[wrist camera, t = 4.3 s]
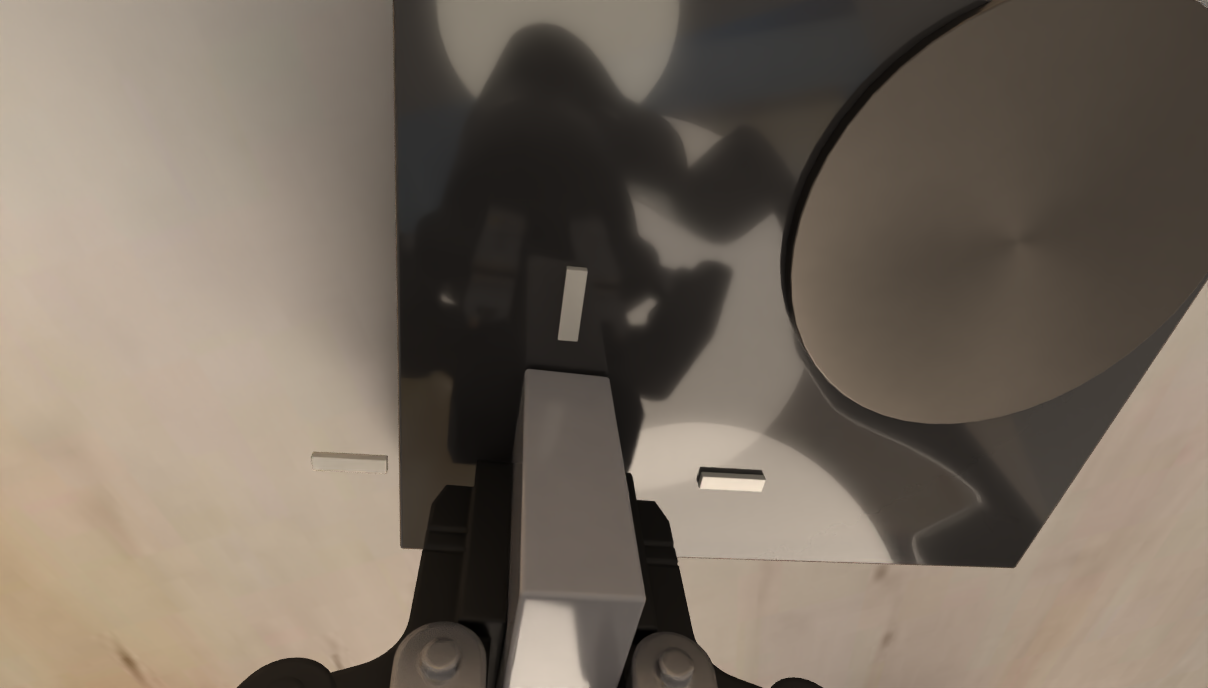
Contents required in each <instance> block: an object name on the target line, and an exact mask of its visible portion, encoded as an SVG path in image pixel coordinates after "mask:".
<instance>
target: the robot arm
mask: <svg viewBox="0 0 1208 688" xmlns="http://www.w3.org/2000/svg"><path fill="white" fill-rule="evenodd" d="M625 475H626V481H627V487H628V493H629V499H630V505H631V511H632V517H633V523H634V529H635V535H636V541H637V547H638V553H639V559H640V565H641V571H642V577H643V583H644V589H645V595H646V601H645V605H644V608H643V611H642V614H641V617H640V620H639V623H638V626H637V629H636V632H635V635H634V638H633V641H632V644H631V647H630V650H629V653H628V656H627V659H626V662H625V665H624V669H623V672H622V675H621V678H620V681H619V684H618V687H617V688H762V687H759V686H757V685H754V684H751V683H748V682H746V681H743V680H740V679H738V678H735V677H733V676H730V675H728V674H727V673H725V672H723V671H721V670H720V669H719V668H717V667H716V666H715V665H714V664H712V662H711V660H710V658H709V657H708V655H707V653H706V652H705V651H704V650H703V649H702V648H701V647H700V646H699V645H698V644H697V642H696V640H695V637H694V634H693V630H692V625H691V621H690V616H689V611H688V607H687V602H686V597H685V593H684V588H683V583H682V579H681V574H680V569H679V566H678V565H677V563H678V560H677V555H676V551H675V548H674V541H673V537H672V532H671V527H670V523H669V520H668V519H667V518H666V516H665V515H664V513H663V512H662V510H661V509H660V508H659V506H658V505H657V503H656V502H655V501H647V500H637V499H636V493H635V487H634V481H633V476H632V474H631V473H625ZM512 489H513V463H508V462H497V461H485V460H477V465H476V473H475V482H474V487H470V486H457V485H446V486H445V487H444V488H443V490H442V491H441V492H440V493H439V495H438V496H437V497H436V499H435V500H434V501H433V502H432V504H431V509H430V514H429V519H428V524H427V531H426V535H425V540H424V546H423V551H422V556H421V561H420V566H419V571H418V577H417V582H416V587H415V592H414V598H413V603H412V608H411V613H410V618H409V622H408V626H407V628H406V630H405V632H404V634H403V635H402V637H401V638H400V640H399V641H398V642H397V643H396V644H395V645H394V646H393V647H392V648H391V649H390V650H389V651H387V652H386V653H385V654H383V655H381V656H380V657H378V658H376V659H374V660H372V661H370V662H367V663H364V664H361V665H358V666H354V667H350V668H346V669H343V670H339V671H335V672H332V673H330V671H329V670H328V669H327V668H326V667H324V666H323V665H322V664H320V663H318V662H316V661H314V660H310V659H307V658H287V659H281V660H278V661H275V662H272V663H270V664H268V665H265V666H263V667H262V668H260V669H258V670H257V671H255V672H254V673H253V674H251V675H250V676H249V677H248V678H247V679H246V680H244V681H243V682H242V683H241V684H240V685H239V686H238V687H237V688H495V683H496V677H497V671H498V665H499V659H500V653H501V647H502V641H503V636H504V630H505V624H506V608H507V588H508V569H509V549H510V530H511V510H512ZM771 688H823V687H821V686H819V685H818V684H816V683H814V682H811V681H809V680H806V679H802V678H795V677H793V678H785V679H781V680H780V681H778V682H776V683H775V684H774V685H773V686H772V687H771Z"/></svg>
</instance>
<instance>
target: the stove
mask: <svg viewBox="0 0 1208 688" xmlns="http://www.w3.org/2000/svg"><path fill="white" fill-rule="evenodd" d="M990 1H992V0H393V65H394V137H395V209H396V281H397V353H398V425H399V497H400V546H401V548H403V549H423V546H424V540H425V535H426V531H427V524H428V519H429V514H430V509H431V504H432V502H433V501H434V500H435V499H436V497H437V496H438V495H439V493H440V492H441V491H442V490H443V488H444V487H445V486H446V485H457V486H470V487H474V482H475V473H476V465H477V460H485V461H497V462H508V463H511V460H512V454H513V447H514V440H515V434H516V427H517V420H518V414H519V407H520V400H521V394H522V387H523V380H524V374H525V371H526V370H527V369H538V370H548V371H557V372H566V373H576V374H585V375H595V376H604V377H608V378H609V380H610V385H611V391H612V397H613V403H614V409H615V415H616V421H617V427H618V433H619V439H620V445H621V451H622V457H623V463H624V469H625V473H631V474H632V476H633V481H634V487H635V493H636V499H637V500H647V501H655V502H656V503H657V505H658V506H659V508H660V509H661V510H662V512H663V513H664V515H665V516H666V518H667V519H668V520H669V523H670V527H671V532H672V537H673V541H674V548H675V551H676V555H677V557H682V558H713V559H745V560H776V561H807V562H838V563H870V564H901V565H932V566H964V567H995V568H1015V567H1016V566H1017V564H1018V563H1019V561H1020V560H1021V558H1022V557H1023V555H1024V554H1025V552H1026V551H1027V549H1028V548H1029V546H1030V545H1031V543H1032V542H1033V540H1034V539H1035V537H1036V536H1037V534H1038V533H1039V531H1040V530H1041V528H1042V527H1043V525H1044V524H1045V522H1046V521H1047V519H1048V518H1049V516H1050V515H1051V513H1052V512H1053V510H1054V509H1055V507H1056V506H1057V504H1058V503H1059V501H1060V500H1061V498H1062V497H1063V495H1064V494H1065V492H1066V491H1067V489H1068V488H1069V486H1070V485H1071V483H1072V482H1073V480H1074V479H1075V477H1076V476H1077V474H1078V473H1079V471H1080V470H1081V469H1082V467H1083V466H1084V464H1085V463H1086V461H1087V460H1088V458H1089V457H1090V455H1091V454H1092V452H1093V451H1094V449H1095V448H1096V446H1097V445H1098V443H1099V442H1100V440H1101V439H1102V437H1103V436H1104V434H1105V433H1106V431H1107V430H1108V428H1109V427H1110V425H1111V424H1112V422H1113V421H1114V419H1115V418H1116V416H1117V415H1118V413H1119V412H1120V410H1121V409H1122V407H1123V406H1124V404H1125V403H1126V401H1127V400H1128V398H1129V397H1130V395H1131V394H1132V392H1133V391H1134V389H1135V388H1136V386H1137V385H1138V383H1139V382H1140V380H1141V379H1142V377H1143V376H1144V374H1145V373H1146V371H1147V370H1148V368H1149V367H1150V365H1151V364H1152V362H1153V361H1154V359H1155V358H1156V356H1157V355H1158V353H1159V352H1160V351H1161V349H1162V348H1163V346H1164V345H1165V343H1166V342H1167V340H1168V339H1169V337H1170V336H1171V334H1172V333H1173V331H1174V330H1175V328H1176V327H1177V325H1178V324H1179V322H1180V321H1181V319H1182V318H1183V316H1184V315H1185V313H1186V312H1187V310H1188V309H1189V307H1190V306H1191V304H1192V303H1193V301H1194V300H1195V298H1196V297H1197V295H1198V294H1199V292H1200V291H1201V289H1202V288H1203V286H1204V285H1205V283H1206V282H1207V280H1208V272H1207V273H1206V275H1205V276H1204V278H1203V279H1202V280H1201V282H1200V283H1199V284H1198V286H1197V287H1196V289H1195V290H1194V291H1193V292H1192V293H1191V294H1190V296H1189V297H1188V298H1187V299H1186V300H1185V301H1184V302H1183V304H1182V305H1181V306H1180V307H1179V308H1178V309H1177V310H1176V312H1175V313H1174V314H1173V315H1172V316H1171V317H1170V318H1169V319H1168V320H1167V321H1165V322H1164V323H1163V324H1162V325H1161V326H1160V327H1159V328H1158V329H1157V330H1156V331H1155V332H1154V333H1153V334H1152V335H1151V336H1150V337H1149V338H1147V339H1146V340H1145V341H1144V342H1142V343H1141V344H1140V345H1139V346H1138V347H1136V348H1135V349H1134V350H1133V351H1132V352H1130V353H1129V354H1128V355H1127V356H1125V357H1124V358H1122V359H1121V360H1119V361H1118V362H1117V363H1115V364H1114V365H1112V366H1111V367H1110V368H1108V369H1107V370H1105V371H1104V372H1102V373H1100V374H1099V375H1097V376H1095V377H1094V378H1092V379H1090V380H1089V381H1087V382H1085V383H1084V384H1082V385H1080V386H1078V387H1076V388H1074V389H1072V390H1070V391H1068V392H1066V393H1064V394H1062V395H1060V396H1058V397H1056V398H1054V399H1052V400H1049V401H1047V402H1044V403H1041V404H1039V405H1036V406H1034V407H1031V408H1029V409H1026V410H1022V411H1019V412H1016V413H1012V414H1009V415H1005V416H1002V417H997V418H992V419H987V420H982V421H977V422H967V423H957V424H926V423H918V422H910V421H904V420H900V419H896V418H892V417H888V416H884V415H882V414H879V413H877V412H874V411H872V410H870V409H867V408H865V407H862V406H861V405H859V404H857V403H856V402H854V401H852V400H851V399H849V398H848V397H846V396H844V395H843V394H842V393H841V392H839V391H838V390H837V389H836V388H835V387H834V386H832V385H831V384H830V383H829V382H828V381H827V380H826V379H825V378H824V376H823V375H822V374H821V373H820V372H819V370H818V369H817V368H816V367H815V366H814V364H813V363H812V361H811V360H810V358H809V356H808V354H807V353H806V351H805V349H804V348H803V346H802V344H801V342H800V341H799V338H798V336H797V333H796V330H795V328H794V325H793V322H792V320H791V316H790V311H789V306H788V301H787V296H786V276H785V265H786V255H787V246H788V238H789V234H790V230H791V226H792V222H793V217H794V213H795V210H796V207H797V204H798V202H799V199H800V196H801V194H802V191H803V188H804V185H805V183H806V180H807V178H808V176H809V174H810V172H811V170H812V169H813V167H814V165H815V163H816V161H817V159H818V157H819V155H820V153H821V151H822V149H823V148H824V146H825V145H826V143H827V142H828V140H829V139H830V137H831V136H832V134H833V133H834V131H835V129H836V128H837V126H838V125H839V123H840V122H841V120H842V119H843V118H844V117H845V115H846V114H847V113H848V112H849V111H850V109H851V108H852V107H853V106H854V104H855V103H856V102H857V101H858V100H859V98H860V97H861V96H862V95H863V94H864V92H865V91H866V90H867V89H868V88H869V87H870V86H871V85H872V84H873V83H874V82H875V81H876V80H877V79H878V78H879V77H880V76H881V75H882V74H883V73H884V72H885V71H886V70H887V69H888V68H889V67H890V66H891V65H892V64H894V63H895V62H896V61H897V60H899V59H900V58H901V57H902V56H904V55H905V54H906V53H907V52H909V51H910V50H911V49H912V48H913V47H915V46H916V45H917V44H918V43H920V42H921V41H922V40H923V39H925V38H926V37H928V36H930V35H931V34H933V33H934V32H936V31H937V30H939V29H941V28H942V27H944V26H945V25H947V24H948V23H950V22H952V21H953V20H955V19H956V18H958V17H960V16H962V15H964V14H966V13H968V12H970V11H972V10H974V9H976V8H978V7H980V6H982V5H984V4H986V3H988V2H990ZM311 461H312V470H315V471H336V472H357V473H378V474H386V473H387V470H388V456H387V455H369V454H350V453H331V452H313V453H312V456H311Z"/></svg>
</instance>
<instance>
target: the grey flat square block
mask: <svg viewBox="0 0 1208 688" xmlns="http://www.w3.org/2000/svg"><path fill="white" fill-rule="evenodd" d="M511 463H513V489H512V510H511V530H510V549H509V569H508V588H507V608H506V624H505V630H504V636H503V641H502V647H501V653H500V659H499V665H498V671H497V677H496V683H495V688H617V687H618V684H619V681H620V678H621V675H622V672H623V669H624V665H625V662H626V659H627V656H628V653H629V650H630V647H631V644H632V641H633V638H634V635H635V632H636V629H637V626H638V623H639V620H640V617H641V614H642V611H643V608H644V605H645V601H646V595H645V589H644V583H643V577H642V571H641V565H640V559H639V553H638V547H637V541H636V535H635V529H634V523H633V517H632V511H631V505H630V499H629V493H628V487H627V481H626V475H625V469H624V463H623V457H622V451H621V445H620V439H619V433H618V427H617V421H616V415H615V409H614V403H613V397H612V391H611V385H610V380H609V378H608V377H604V376H595V375H585V374H576V373H566V372H557V371H548V370H538V369H527V370H526V371H525V374H524V380H523V387H522V394H521V400H520V407H519V414H518V420H517V427H516V434H515V440H514V447H513V454H512V460H511Z"/></svg>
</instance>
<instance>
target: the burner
mask: <svg viewBox="0 0 1208 688" xmlns="http://www.w3.org/2000/svg"><path fill="white" fill-rule="evenodd" d="M1207 272H1208V9H1207V8H1206V7H1205V6H1204V5H1202V4H1201V3H1199V2H1197V1H1195V0H992V1H990V2H988V3H986V4H984V5H982V6H980V7H978V8H976V9H974V10H972V11H970V12H968V13H966V14H964V15H962V16H960V17H958V18H956V19H955V20H953V21H952V22H950V23H948V24H947V25H945V26H944V27H942V28H941V29H939V30H937V31H936V32H934V33H933V34H931V35H930V36H928V37H926V38H925V39H923V40H922V41H921V42H920V43H918V44H917V45H916V46H915V47H913V48H912V49H911V50H910V51H909V52H907V53H906V54H905V55H904V56H902V57H901V58H900V59H899V60H897V61H896V62H895V63H894V64H892V65H891V66H890V67H889V68H888V69H887V70H886V71H885V72H884V73H883V74H882V75H881V76H880V77H879V78H878V79H877V80H876V81H875V82H874V83H873V84H872V85H871V86H870V87H869V88H868V89H867V90H866V91H865V92H864V94H863V95H862V96H861V97H860V98H859V100H858V101H857V102H856V103H855V104H854V106H853V107H852V108H851V109H850V111H849V112H848V113H847V114H846V115H845V117H844V118H843V119H842V120H841V122H840V123H839V125H838V126H837V128H836V129H835V131H834V133H833V134H832V136H831V137H830V139H829V140H828V142H827V143H826V145H825V146H824V148H823V149H822V151H821V153H820V155H819V157H818V159H817V161H816V163H815V165H814V167H813V169H812V170H811V172H810V174H809V176H808V178H807V180H806V183H805V185H804V188H803V191H802V194H801V196H800V199H799V202H798V204H797V207H796V210H795V213H794V217H793V222H792V226H791V230H790V234H789V238H788V246H787V255H786V265H785V276H786V296H787V301H788V306H789V311H790V316H791V320H792V322H793V325H794V328H795V330H796V333H797V336H798V338H799V341H800V342H801V344H802V346H803V348H804V349H805V351H806V353H807V354H808V356H809V358H810V360H811V361H812V363H813V364H814V366H815V367H816V368H817V369H818V370H819V372H820V373H821V374H822V375H823V376H824V378H825V379H826V380H827V381H828V382H829V383H830V384H831V385H832V386H834V387H835V388H836V389H837V390H838V391H839V392H841V393H842V394H843V395H844V396H846V397H848V398H849V399H851V400H852V401H854V402H856V403H857V404H859V405H861V406H862V407H865V408H867V409H870V410H872V411H874V412H877V413H879V414H882V415H884V416H888V417H892V418H896V419H900V420H904V421H910V422H918V423H926V424H957V423H967V422H977V421H982V420H987V419H992V418H997V417H1002V416H1005V415H1009V414H1012V413H1016V412H1019V411H1022V410H1026V409H1029V408H1031V407H1034V406H1036V405H1039V404H1041V403H1044V402H1047V401H1049V400H1052V399H1054V398H1056V397H1058V396H1060V395H1062V394H1064V393H1066V392H1068V391H1070V390H1072V389H1074V388H1076V387H1078V386H1080V385H1082V384H1084V383H1085V382H1087V381H1089V380H1090V379H1092V378H1094V377H1095V376H1097V375H1099V374H1100V373H1102V372H1104V371H1105V370H1107V369H1108V368H1110V367H1111V366H1112V365H1114V364H1115V363H1117V362H1118V361H1119V360H1121V359H1122V358H1124V357H1125V356H1127V355H1128V354H1129V353H1130V352H1132V351H1133V350H1134V349H1135V348H1136V347H1138V346H1139V345H1140V344H1141V343H1142V342H1144V341H1145V340H1146V339H1147V338H1149V337H1150V336H1151V335H1152V334H1153V333H1154V332H1155V331H1156V330H1157V329H1158V328H1159V327H1160V326H1161V325H1162V324H1163V323H1164V322H1165V321H1167V320H1168V319H1169V318H1170V317H1171V316H1172V315H1173V314H1174V313H1175V312H1176V310H1177V309H1178V308H1179V307H1180V306H1181V305H1182V304H1183V302H1184V301H1185V300H1186V299H1187V298H1188V297H1189V296H1190V294H1191V293H1192V292H1193V291H1194V290H1195V289H1196V287H1197V286H1198V284H1199V283H1200V282H1201V280H1202V279H1203V278H1204V276H1205V275H1206V273H1207Z"/></svg>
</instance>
